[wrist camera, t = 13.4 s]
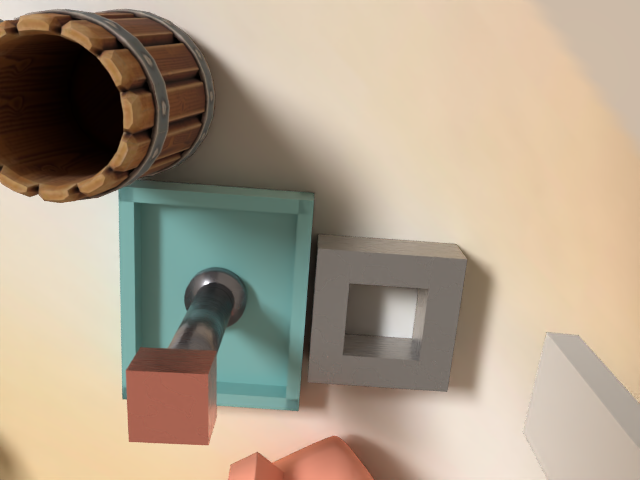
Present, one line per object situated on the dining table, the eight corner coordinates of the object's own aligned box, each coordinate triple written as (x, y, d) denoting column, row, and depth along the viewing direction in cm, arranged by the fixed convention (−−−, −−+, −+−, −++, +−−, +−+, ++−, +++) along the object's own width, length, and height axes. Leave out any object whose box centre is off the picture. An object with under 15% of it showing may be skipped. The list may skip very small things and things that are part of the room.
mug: (246, 64, 41) (205, 68, 27) (175, 198, 44) (103, 268, 29) (27, -65, 39) (-146, -137, 24) (-33, 84, 41) (-222, 99, 27)
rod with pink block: (187, 322, 45) (125, 445, 31) (186, 265, 44) (121, 366, 30) (246, 324, 45) (212, 448, 31) (247, 268, 44) (212, 370, 30)
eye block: (318, 234, 44) (318, 248, 41) (456, 244, 44) (467, 259, 41) (308, 359, 47) (307, 382, 44) (438, 367, 47) (447, 391, 44)
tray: (129, 179, 43) (118, 186, 41) (314, 192, 43) (314, 200, 41) (132, 381, 48) (122, 399, 45) (299, 393, 48) (298, 410, 46)
